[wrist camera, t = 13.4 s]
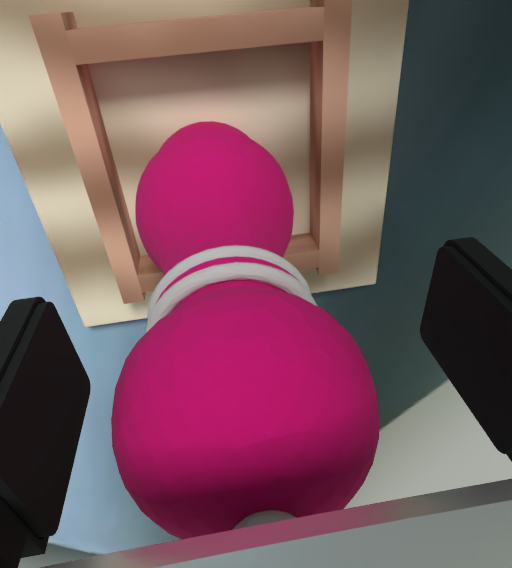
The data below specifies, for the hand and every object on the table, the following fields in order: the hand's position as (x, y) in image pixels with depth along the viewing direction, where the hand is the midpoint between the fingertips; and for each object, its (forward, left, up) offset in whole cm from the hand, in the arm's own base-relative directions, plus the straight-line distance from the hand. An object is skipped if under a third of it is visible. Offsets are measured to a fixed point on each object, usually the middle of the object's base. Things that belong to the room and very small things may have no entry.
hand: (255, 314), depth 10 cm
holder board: (+1, 0, -15) cm, 15 cm away
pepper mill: (+2, -1, -14) cm, 14 cm away
